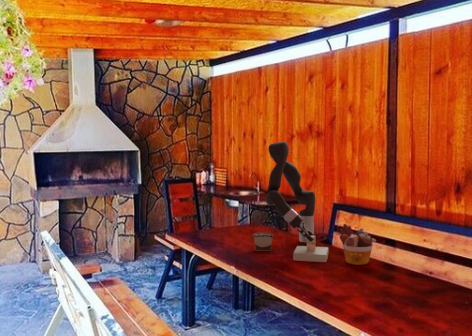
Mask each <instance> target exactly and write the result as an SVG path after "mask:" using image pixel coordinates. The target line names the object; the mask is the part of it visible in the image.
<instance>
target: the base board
mask: <svg viewBox="0 0 472 336" xmlns="http://www.w3.org/2000/svg"><path fill="white" fill-rule="evenodd" d="M292 257H293V258H292V259H293V260H292V261H301V262H315V263H316V262H318V263H327V260H328V257H329V247H327V246H315V251H307V245H306V246H305V245H297V246H296V248H295V249H294V251H293V254H292Z"/></svg>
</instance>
